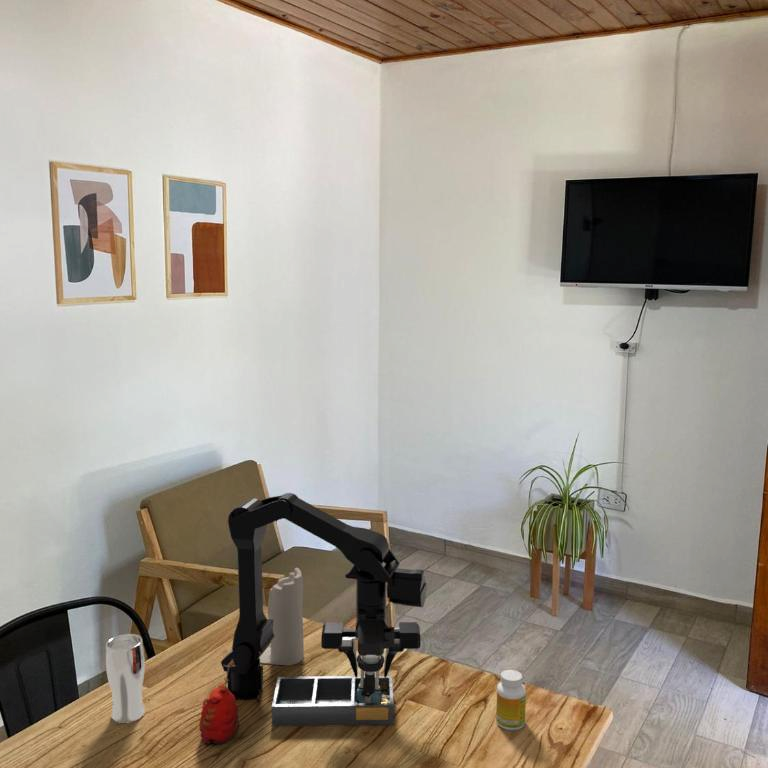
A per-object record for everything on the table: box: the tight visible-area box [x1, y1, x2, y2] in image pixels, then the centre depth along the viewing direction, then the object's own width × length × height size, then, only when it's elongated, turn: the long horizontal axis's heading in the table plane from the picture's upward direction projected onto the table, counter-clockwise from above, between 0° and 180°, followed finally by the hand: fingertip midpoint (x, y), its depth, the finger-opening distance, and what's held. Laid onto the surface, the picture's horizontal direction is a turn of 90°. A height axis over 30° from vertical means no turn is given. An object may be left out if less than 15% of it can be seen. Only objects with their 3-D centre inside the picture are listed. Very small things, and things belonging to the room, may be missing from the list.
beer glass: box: [105, 633, 146, 724], centre depth 150 cm, size 7×7×15 cm
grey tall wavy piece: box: [259, 567, 305, 666], centre depth 171 cm, size 7×14×20 cm, turn 82°
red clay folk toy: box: [198, 659, 240, 745], centre depth 143 cm, size 8×7×15 cm
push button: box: [356, 654, 389, 703], centre depth 152 cm, size 7×5×10 cm
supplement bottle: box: [495, 669, 527, 731], centre depth 147 cm, size 5×5×10 cm
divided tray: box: [271, 675, 395, 727], centre depth 152 cm, size 23×11×4 cm, turn 91°
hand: (370, 676), depth 151 cm, fingers open, 5 cm apart
